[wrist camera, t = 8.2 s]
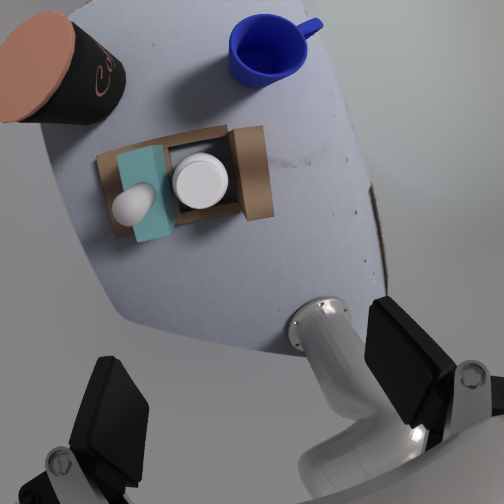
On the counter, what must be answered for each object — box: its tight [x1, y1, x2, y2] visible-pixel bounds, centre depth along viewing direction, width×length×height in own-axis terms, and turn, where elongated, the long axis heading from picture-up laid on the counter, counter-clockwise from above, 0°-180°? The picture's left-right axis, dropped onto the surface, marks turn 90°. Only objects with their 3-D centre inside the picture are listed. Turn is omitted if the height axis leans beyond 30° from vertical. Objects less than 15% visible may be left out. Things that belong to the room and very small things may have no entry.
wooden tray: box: [96, 125, 274, 238], centre depth 31 cm, size 12×21×9 cm, turn 98°
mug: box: [229, 14, 323, 88], centre depth 26 cm, size 8×12×10 cm
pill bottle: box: [172, 152, 228, 209], centre depth 30 cm, size 6×6×11 cm
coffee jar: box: [0, 11, 126, 125], centre depth 19 cm, size 11×11×18 cm
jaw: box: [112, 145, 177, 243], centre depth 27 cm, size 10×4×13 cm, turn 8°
